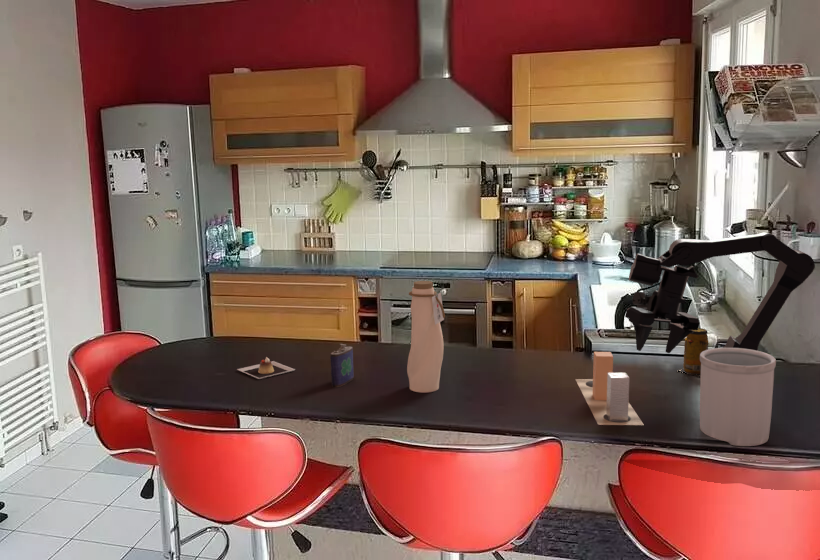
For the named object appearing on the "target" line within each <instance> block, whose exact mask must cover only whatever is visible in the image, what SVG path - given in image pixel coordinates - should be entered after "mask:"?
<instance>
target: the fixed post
mask: <svg viewBox="0 0 820 560" xmlns="http://www.w3.org/2000/svg"><path fill="white" fill-rule="evenodd" d="M629 400H630V376H629V375H628V373H626V372H613V373H608V376H607V406H606V415H607V417H608V419H609V420H610V421H628V403H630V402H629Z"/></svg>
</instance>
